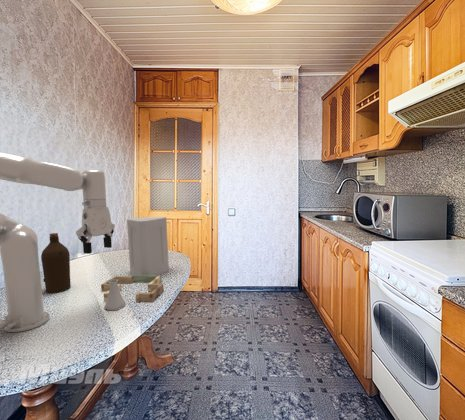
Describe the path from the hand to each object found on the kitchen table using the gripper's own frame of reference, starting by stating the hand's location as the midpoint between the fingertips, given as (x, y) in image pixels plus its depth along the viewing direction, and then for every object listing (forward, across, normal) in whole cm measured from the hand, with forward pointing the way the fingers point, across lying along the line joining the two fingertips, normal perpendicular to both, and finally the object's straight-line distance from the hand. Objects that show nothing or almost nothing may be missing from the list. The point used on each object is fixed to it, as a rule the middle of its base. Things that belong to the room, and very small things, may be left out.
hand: (98, 250), depth 107 cm
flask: (+22, +1, -6) cm, 22 cm away
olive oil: (+22, +9, +33) cm, 40 cm away
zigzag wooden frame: (+21, +16, -2) cm, 27 cm away
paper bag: (+21, +38, +6) cm, 44 cm away
